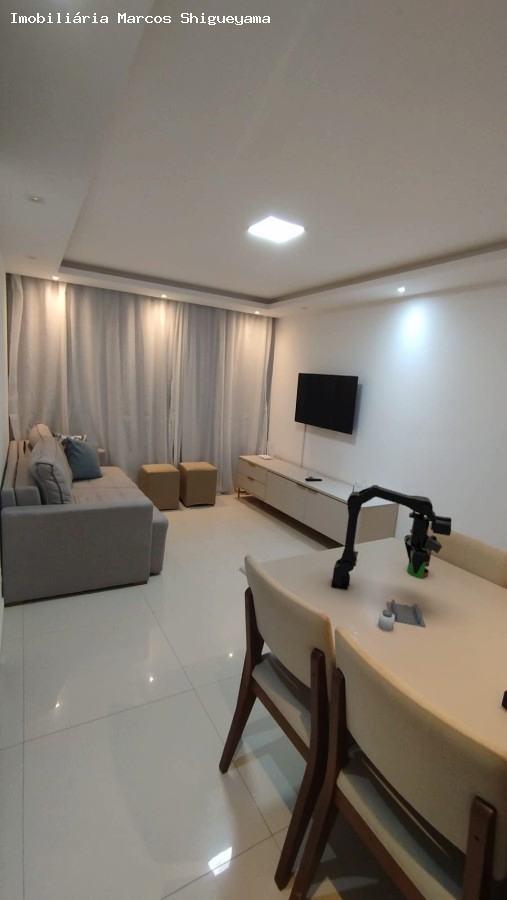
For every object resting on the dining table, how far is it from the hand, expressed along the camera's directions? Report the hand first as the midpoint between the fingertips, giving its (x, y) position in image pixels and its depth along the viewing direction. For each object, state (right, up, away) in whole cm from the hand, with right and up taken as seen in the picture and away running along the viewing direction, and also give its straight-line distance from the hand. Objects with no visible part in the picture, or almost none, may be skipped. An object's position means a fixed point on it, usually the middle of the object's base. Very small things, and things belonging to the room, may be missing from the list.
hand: (413, 568), depth 158 cm
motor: (+13, -11, +28) cm, 33 cm away
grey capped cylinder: (-16, -16, -16) cm, 28 cm away
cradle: (-6, -15, -7) cm, 18 cm away
